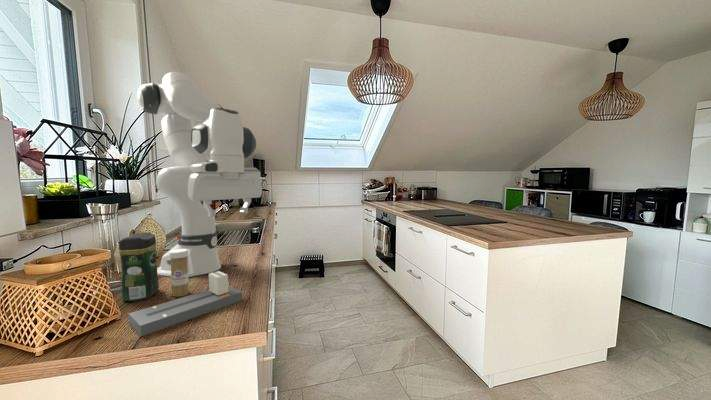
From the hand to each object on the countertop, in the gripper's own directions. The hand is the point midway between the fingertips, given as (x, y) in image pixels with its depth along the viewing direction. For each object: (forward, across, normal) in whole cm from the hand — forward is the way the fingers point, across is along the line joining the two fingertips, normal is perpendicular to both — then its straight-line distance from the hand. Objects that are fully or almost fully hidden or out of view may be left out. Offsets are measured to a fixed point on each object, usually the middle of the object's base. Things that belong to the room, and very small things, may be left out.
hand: (228, 214), depth 82 cm
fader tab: (+22, +4, +1) cm, 22 cm away
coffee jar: (+25, +17, -21) cm, 37 cm away
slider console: (+24, +11, +1) cm, 27 cm away
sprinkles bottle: (+25, +9, -13) cm, 29 cm away
